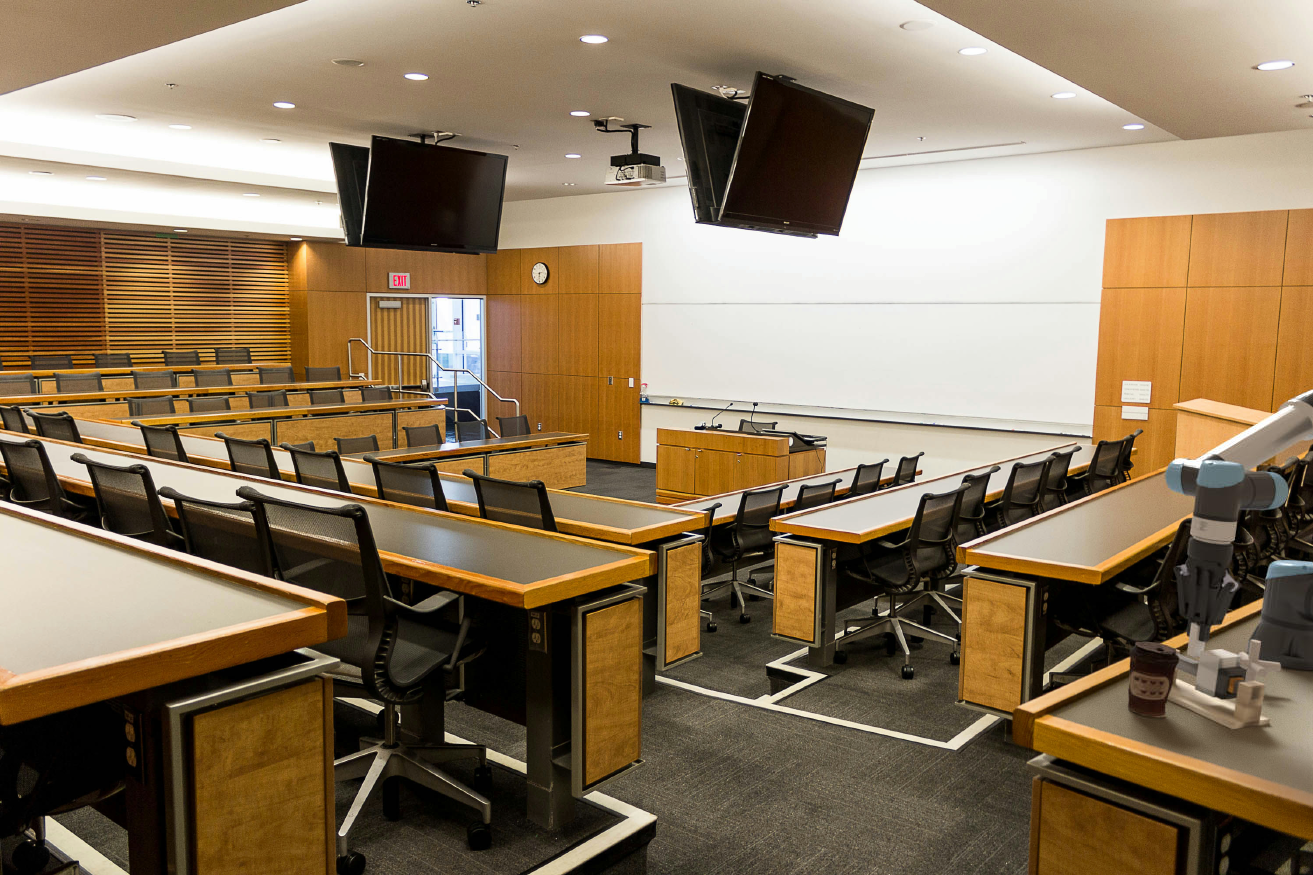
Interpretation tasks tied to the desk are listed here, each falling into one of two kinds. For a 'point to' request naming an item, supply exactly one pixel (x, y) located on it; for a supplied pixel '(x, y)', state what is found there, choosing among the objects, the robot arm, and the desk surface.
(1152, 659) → the coffee cup
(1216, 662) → the sleeve
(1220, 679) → the dark grey block
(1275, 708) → the desk surface
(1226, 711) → the pipe rig
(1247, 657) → the pipe connector
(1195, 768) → the desk surface
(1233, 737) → the desk surface
